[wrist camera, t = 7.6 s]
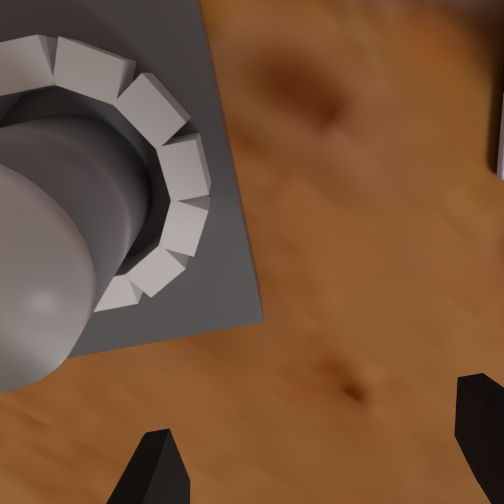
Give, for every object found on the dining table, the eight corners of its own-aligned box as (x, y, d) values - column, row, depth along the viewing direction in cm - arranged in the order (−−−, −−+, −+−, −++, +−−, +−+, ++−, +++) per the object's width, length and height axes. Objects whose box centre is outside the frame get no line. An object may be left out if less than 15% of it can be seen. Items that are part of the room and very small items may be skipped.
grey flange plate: (184, -75, 13) (162, -145, 9) (259, 285, 19) (267, 344, 15) (-103, -11, 13) (-255, -49, 9) (60, 322, 19) (13, 391, 15)
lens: (131, 103, 12) (22, 134, 6) (166, 241, 14) (114, 376, 8) (-18, 126, 12) (-286, 182, 6) (38, 260, 14) (-116, 409, 8)
